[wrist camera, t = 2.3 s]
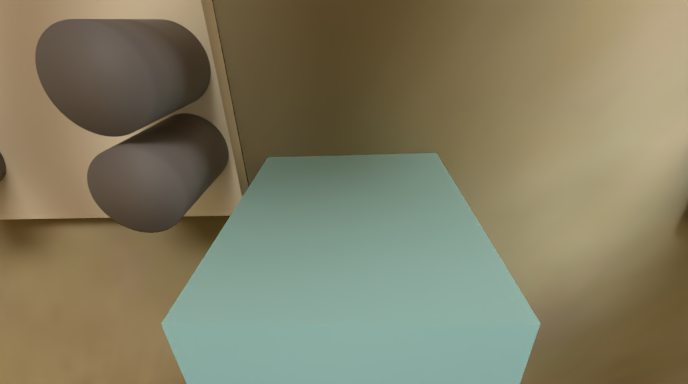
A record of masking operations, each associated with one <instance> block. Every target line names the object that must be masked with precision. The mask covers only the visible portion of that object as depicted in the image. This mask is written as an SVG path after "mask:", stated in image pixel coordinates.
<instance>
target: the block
mask: <svg viewBox="0 0 688 384" xmlns="http://www.w3.org/2000/svg"><path fill="white" fill-rule="evenodd" d="M540 324H541V323H540V322H539V320H538V318H537V317H536V315H535V314H534V312H533V310H532V309H531V307H530V305H529V304H528V302H527V300H526V299H525V297H524V296H523V294H522V292H521V291H520V289H519V287H518V286H517V284H516V282H515V281H514V279H513V277H512V276H511V274H510V273H509V271H508V269H507V268H506V266H505V264H504V263H503V261H502V259H501V258H500V256H499V255H498V253H497V251H496V250H495V248H494V246H493V245H492V243H491V241H490V240H489V238H488V237H487V235H486V233H485V232H484V230H483V228H482V227H481V225H480V223H479V222H478V220H477V218H476V217H475V215H474V214H473V212H472V210H471V209H470V207H469V205H468V204H467V202H466V200H465V199H464V197H463V196H462V194H461V192H460V191H459V189H458V187H457V186H456V184H455V182H454V181H453V179H452V178H451V176H450V174H449V173H448V171H447V169H446V168H445V166H444V164H443V163H442V161H441V160H440V158H439V156H438V155H437V153H415V154H375V155H336V156H296V157H268V158H267V159H266V161H265V162H264V164H263V166H262V167H261V169H260V170H259V172H258V173H257V175H256V177H255V178H254V180H253V181H252V183H251V184H250V186H249V187H248V189H247V191H246V192H245V194H244V195H243V197H242V198H241V200H240V202H239V203H238V205H237V206H236V208H235V209H234V211H233V212H232V214H231V216H230V217H229V219H228V220H227V222H226V223H225V225H224V227H223V228H222V230H221V231H220V233H219V234H218V236H217V237H216V239H215V241H214V242H213V244H212V245H211V247H210V248H209V250H208V252H207V253H206V255H205V256H204V258H203V259H202V261H201V262H200V264H199V266H198V267H197V269H196V270H195V272H194V273H193V275H192V277H191V278H190V280H189V281H188V283H187V284H186V286H185V287H184V289H183V291H182V292H181V294H180V295H179V297H178V298H177V300H176V302H175V303H174V305H173V306H172V308H171V309H170V311H169V312H168V314H167V316H166V317H165V319H164V320H163V322H162V323H161V325H162V328H163V330H164V332H165V335H166V337H167V339H168V342H169V344H170V346H171V349H172V351H173V353H174V356H175V358H176V360H177V363H178V365H179V367H180V370H181V372H182V374H183V377H184V379H185V381H186V384H520V382H521V379H522V376H523V373H524V370H525V367H526V365H527V362H528V359H529V356H530V353H531V350H532V347H533V344H534V341H535V338H536V335H537V332H538V330H539V327H540Z"/></svg>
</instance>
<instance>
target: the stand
mask: <svg viewBox="0 0 688 384" xmlns="http://www.w3.org/2000/svg"><path fill="white" fill-rule="evenodd" d="M247 189H248V182H247V177H246V172H245V167H244V162H243V156H242V151H241V146H240V141H239V136H238V131H237V126H236V121H235V115H234V110H233V105H232V100H231V95H230V90H229V85H228V80H227V75H226V69H225V64H224V59H223V54H222V49H221V44H220V39H219V34H218V29H217V23H216V18H215V13H214V8H213V3H212V0H0V220H2V219H61V218H111V219H113V220H114V221H116V222H117V223H119V224H121V225H123V226H125V227H127V228H130V229H132V230H136V231H140V232H149V233H153V232H161V231H165V230H168V229H169V228H171V227H173V226H174V225H176V224H177V223H178V222H179V221H180V219H181V218H182V217H183V216H231V214H232V212H233V211H234V209H235V208H236V206H237V205H238V203H239V202H240V200H241V198H242V197H243V195H244V194H245V192H246V191H247Z"/></svg>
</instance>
